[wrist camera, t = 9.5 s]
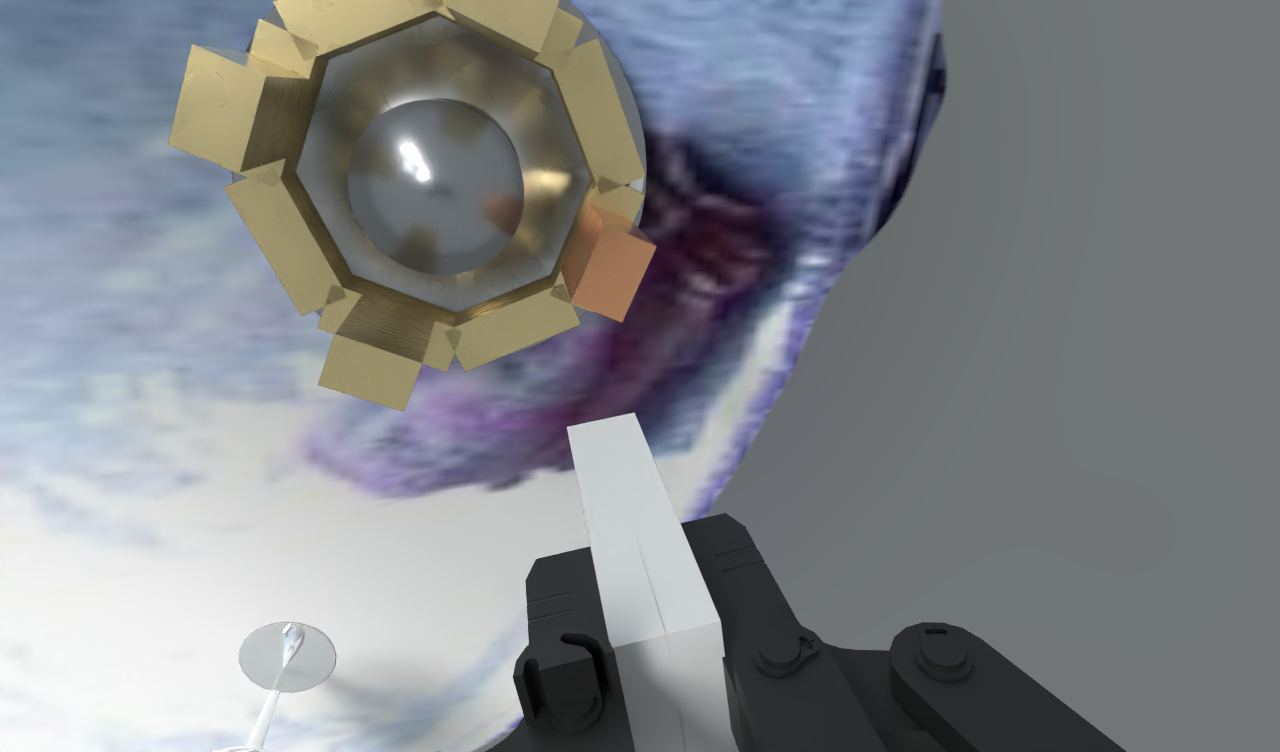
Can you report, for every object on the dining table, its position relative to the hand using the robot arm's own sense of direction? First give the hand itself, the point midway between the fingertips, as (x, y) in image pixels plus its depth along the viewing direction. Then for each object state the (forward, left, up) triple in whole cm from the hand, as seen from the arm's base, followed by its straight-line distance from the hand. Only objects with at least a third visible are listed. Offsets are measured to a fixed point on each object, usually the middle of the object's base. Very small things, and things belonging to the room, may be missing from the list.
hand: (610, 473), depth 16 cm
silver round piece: (-5, -4, -20) cm, 21 cm away
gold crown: (-5, -4, -18) cm, 19 cm away
